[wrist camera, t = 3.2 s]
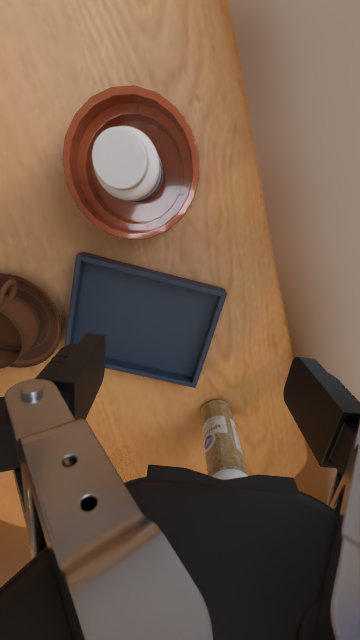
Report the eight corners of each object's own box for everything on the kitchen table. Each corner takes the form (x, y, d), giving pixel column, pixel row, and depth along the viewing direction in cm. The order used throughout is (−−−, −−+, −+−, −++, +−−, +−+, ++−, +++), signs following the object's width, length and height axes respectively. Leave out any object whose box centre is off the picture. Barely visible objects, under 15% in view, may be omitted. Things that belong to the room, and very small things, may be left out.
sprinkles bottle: (205, 395, 40) (217, 480, 27) (236, 402, 40) (261, 489, 28) (196, 420, 41) (203, 512, 29) (225, 427, 42) (245, 520, 29)
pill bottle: (102, 157, 29) (67, 133, 20) (150, 134, 28) (137, 98, 19) (125, 210, 31) (103, 210, 22) (171, 190, 30) (168, 181, 21)
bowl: (72, 218, 31) (56, 220, 27) (88, 87, 27) (72, 65, 23) (179, 247, 32) (179, 253, 28) (210, 126, 28) (216, 111, 24)
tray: (68, 350, 37) (62, 358, 35) (82, 251, 33) (76, 254, 31) (194, 379, 39) (195, 388, 37) (224, 288, 34) (227, 293, 32)
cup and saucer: (-41, 267, 33) (-88, 279, 27) (62, 273, 33) (37, 286, 28) (-21, 357, 38) (-58, 384, 32) (70, 362, 38) (50, 389, 32)
